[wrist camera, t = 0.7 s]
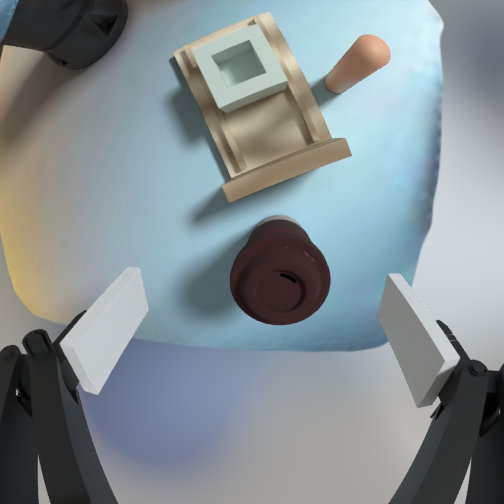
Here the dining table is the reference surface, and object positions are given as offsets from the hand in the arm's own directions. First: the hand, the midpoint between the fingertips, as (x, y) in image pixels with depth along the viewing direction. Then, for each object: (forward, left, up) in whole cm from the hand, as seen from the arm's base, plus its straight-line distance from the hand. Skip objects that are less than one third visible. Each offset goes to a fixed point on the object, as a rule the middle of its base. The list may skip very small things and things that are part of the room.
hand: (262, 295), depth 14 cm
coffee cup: (+6, -1, -25) cm, 26 cm away
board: (-14, +4, -25) cm, 29 cm away
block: (-17, +4, -24) cm, 29 cm away
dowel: (-12, +15, -25) cm, 31 cm away
